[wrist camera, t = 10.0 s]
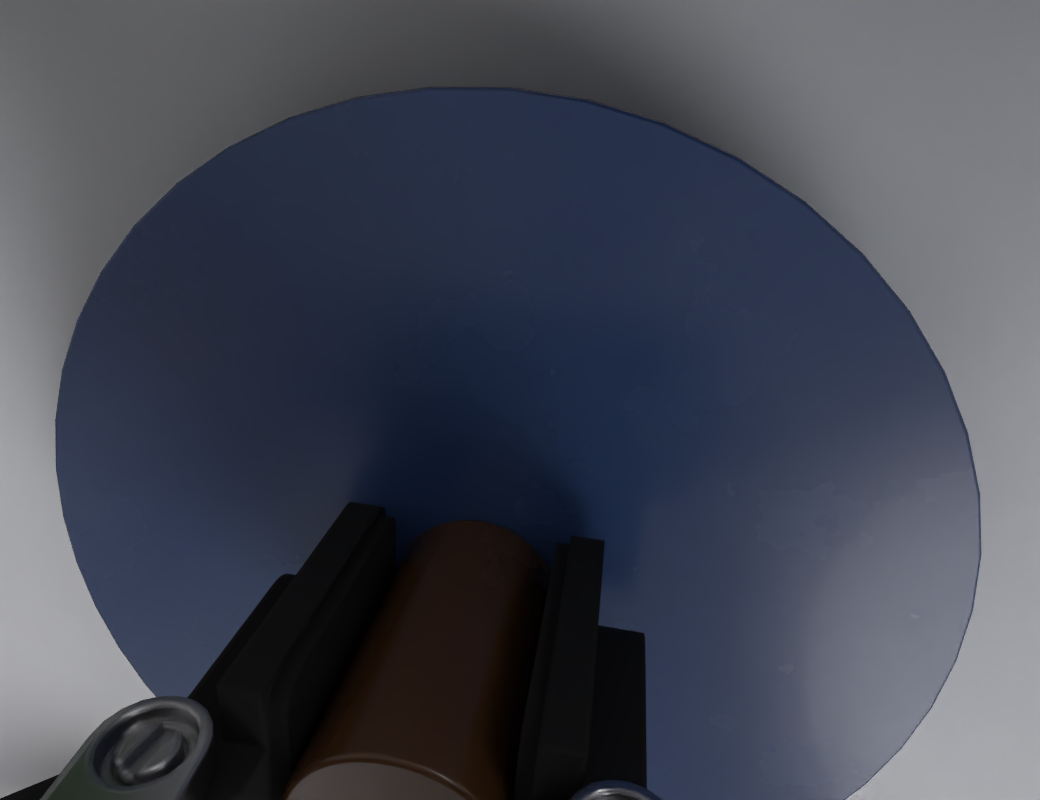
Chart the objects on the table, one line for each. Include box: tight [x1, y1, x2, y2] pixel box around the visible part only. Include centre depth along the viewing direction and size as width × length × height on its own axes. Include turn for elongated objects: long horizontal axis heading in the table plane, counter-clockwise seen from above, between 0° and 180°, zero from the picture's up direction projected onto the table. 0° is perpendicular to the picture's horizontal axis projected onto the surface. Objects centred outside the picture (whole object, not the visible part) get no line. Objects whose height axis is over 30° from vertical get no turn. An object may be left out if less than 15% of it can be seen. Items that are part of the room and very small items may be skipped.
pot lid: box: [55, 87, 981, 800], centre depth 10 cm, size 15×15×6 cm
